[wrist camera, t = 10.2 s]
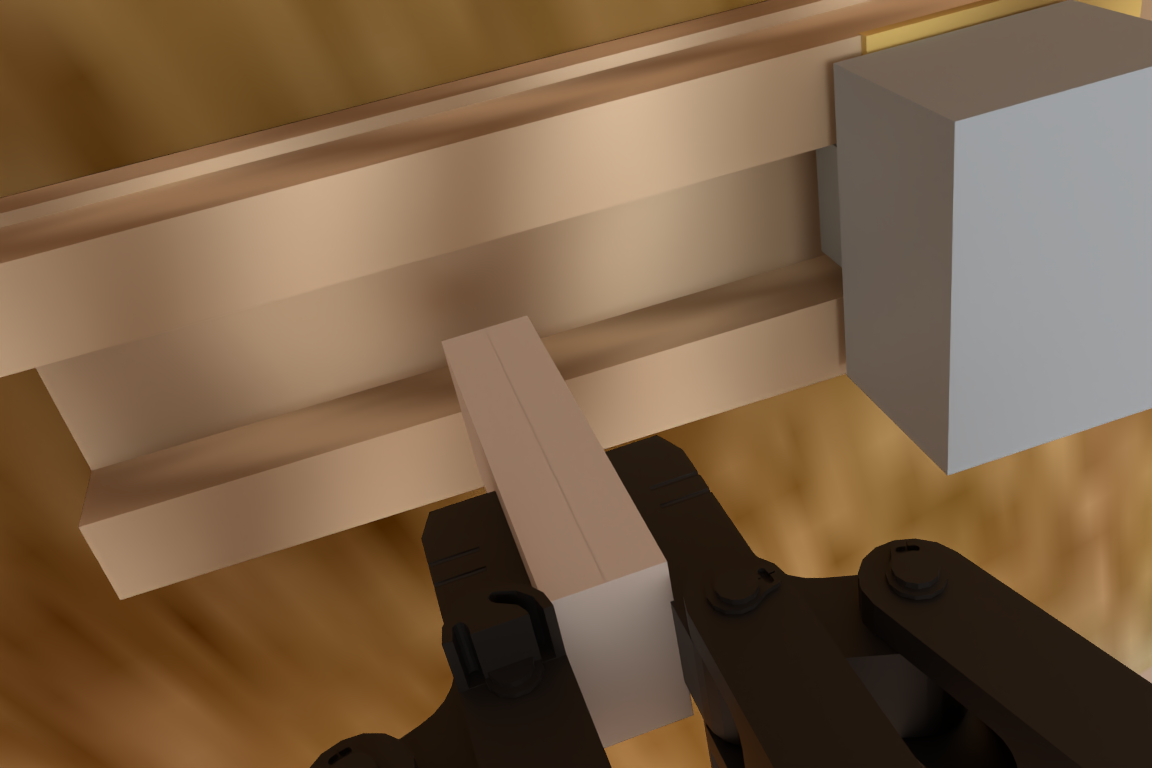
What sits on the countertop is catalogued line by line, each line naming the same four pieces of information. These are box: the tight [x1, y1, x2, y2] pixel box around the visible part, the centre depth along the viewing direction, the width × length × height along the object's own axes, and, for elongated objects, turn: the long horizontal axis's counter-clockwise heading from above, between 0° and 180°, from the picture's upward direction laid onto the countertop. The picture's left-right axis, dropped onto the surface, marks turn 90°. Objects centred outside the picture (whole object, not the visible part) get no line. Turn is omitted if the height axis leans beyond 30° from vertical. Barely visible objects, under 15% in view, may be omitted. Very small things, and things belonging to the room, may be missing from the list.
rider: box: [816, 0, 1152, 475], centre depth 21 cm, size 5×7×6 cm
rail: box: [0, 0, 1152, 600], centre depth 22 cm, size 30×8×4 cm, turn 101°
